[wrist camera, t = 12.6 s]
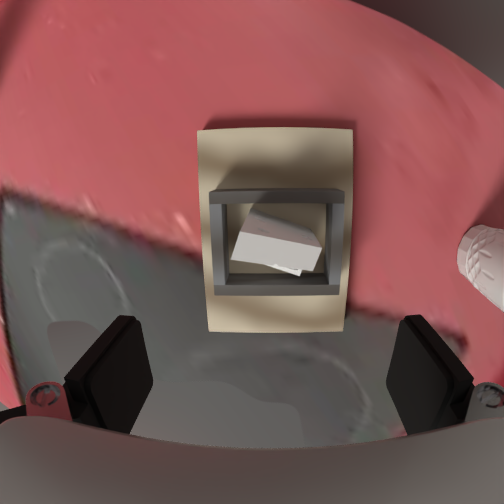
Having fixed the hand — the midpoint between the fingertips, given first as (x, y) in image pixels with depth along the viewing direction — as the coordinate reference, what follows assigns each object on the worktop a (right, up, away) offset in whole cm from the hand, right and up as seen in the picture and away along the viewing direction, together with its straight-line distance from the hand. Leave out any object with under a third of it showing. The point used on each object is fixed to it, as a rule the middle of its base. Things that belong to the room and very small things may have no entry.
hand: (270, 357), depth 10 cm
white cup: (+26, +4, +19) cm, 32 cm away
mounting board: (+2, +5, +20) cm, 20 cm away
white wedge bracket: (+1, +5, +18) cm, 19 cm away
